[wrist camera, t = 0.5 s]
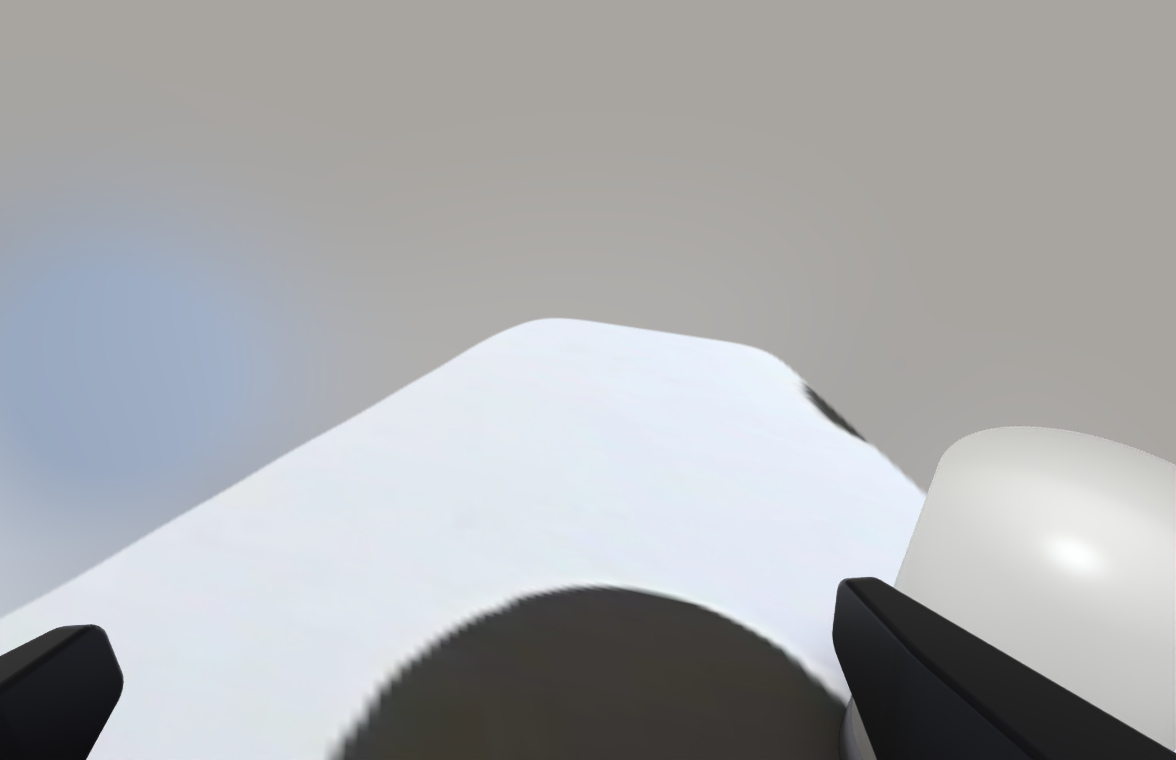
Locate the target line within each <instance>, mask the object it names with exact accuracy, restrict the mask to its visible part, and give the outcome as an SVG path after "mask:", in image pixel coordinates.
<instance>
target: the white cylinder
mask: <svg viewBox="0 0 1176 760" xmlns="http://www.w3.org/2000/svg"><path fill="white" fill-rule="evenodd" d="M893 588H895V589H897V590H898V591H900V592H902V593H903V594H905V595H907V596H909V597H910V598H912V599H914V600H915V601H917V602H919V603H921V604H922V605H924V606H926V607H927V608H929V609H931V610H933V611H934V612H936V613H938V614H939V615H941V616H943V617H944V618H946V619H948V620H950V621H951V622H953V623H955V624H956V625H958V626H960V627H962V628H963V629H965V630H967V631H968V632H970V633H972V634H973V635H975V636H977V637H979V638H980V639H982V640H984V641H985V642H987V643H989V644H991V645H992V646H994V647H996V648H997V649H999V650H1001V651H1003V652H1004V653H1006V654H1008V655H1009V656H1011V657H1013V658H1014V659H1016V660H1018V661H1020V662H1021V663H1023V664H1025V665H1026V666H1028V667H1030V668H1032V669H1033V670H1035V671H1037V672H1038V673H1040V674H1042V675H1043V676H1045V677H1047V678H1049V679H1050V680H1052V681H1054V682H1055V683H1057V684H1059V685H1061V686H1062V687H1064V688H1066V689H1067V690H1069V691H1071V692H1073V693H1074V694H1076V695H1078V696H1079V697H1081V698H1083V699H1084V700H1086V701H1088V702H1090V703H1091V704H1093V705H1095V706H1096V707H1098V708H1100V709H1102V710H1103V711H1105V712H1107V713H1108V714H1110V715H1112V716H1114V717H1115V718H1117V719H1119V720H1120V721H1122V722H1124V723H1125V724H1127V725H1129V726H1131V727H1132V728H1134V729H1136V730H1137V731H1139V732H1141V733H1143V734H1144V735H1146V736H1148V737H1149V738H1151V739H1153V740H1154V741H1156V742H1158V743H1160V744H1161V745H1163V746H1165V747H1166V748H1168V749H1170V750H1172V751H1174V750H1175V749H1176V465H1174V464H1172V463H1170V462H1168V461H1166V460H1163V459H1161V458H1158V457H1156V456H1153V455H1152V454H1149V453H1146V452H1144V451H1141V450H1138V449H1135V448H1133V447H1130V446H1127V445H1124V444H1120V443H1118V442H1114V441H1111V440H1108V439H1104V438H1100V437H1096V436H1092V435H1089V434H1084V433H1078V432H1074V431H1068V430H1062V429H1055V428H1047V427H1046V428H1045V427H1032V426H1012V427H999V428H993V429H988V430H983V431H980V432H976V433H973V434H970V435H968V436H966V437H964V438H962V439H960V440H959V441H957V442H956V443H954V444H953V445H951V447H950V448H949V449H948V450H947V451H946V452H945V453H944V455H943V456H942V458H941V460H940V461H939V464H938V467H937V470H936V472H935V475H934V478H933V481H932V483H931V486H930V489H929V491H928V494H927V497H926V500H925V502H924V505H923V508H922V510H921V513H920V516H919V519H918V521H917V524H916V527H915V529H914V532H913V535H912V538H911V540H910V543H909V546H908V548H907V551H906V554H905V557H904V559H903V562H902V565H901V567H900V570H899V573H898V576H897V578H896V581H895V584H894V586H893ZM839 754H840V760H877V759H876V757H875V754H874V752H873V749H872V746H871V744H870V741H869V738H868V736H867V733H866V731H865V728H864V725H863V723H862V720H861V717H860V715H859V712H858V710H857V707H856V704H855V702H854V699H853V697H852V696H851V698H850V701H849V704H848V707H847V709H846V712H845V715H844V718H843V721H842V724H841V728H840V734H839Z"/></svg>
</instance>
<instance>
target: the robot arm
mask: <svg viewBox="0 0 1176 760" xmlns="http://www.w3.org/2000/svg"><path fill="white" fill-rule="evenodd" d="M832 636H833V644H834V648H835V652H836V655H837V657H838V660H839V662H840V665H841V668H842V670H843V673H844V676H845V678H846V681H847V683H848V686H849V689H850V691H851V694H852V697H853V699H854V702H855V704H856V707H857V710H858V712H859V715H860V717H861V720H862V723H863V725H864V728H865V731H866V733H867V736H868V738H869V741H870V744H871V746H872V749H873V752H874V754H875V757H876V759H877V760H1176V753H1175V752H1173V751H1172V750H1170V749H1168V748H1166V747H1165V746H1163V745H1161V744H1160V743H1158V742H1156V741H1154V740H1153V739H1151V738H1149V737H1148V736H1146V735H1144V734H1143V733H1141V732H1139V731H1137V730H1136V729H1134V728H1132V727H1131V726H1129V725H1127V724H1125V723H1124V722H1122V721H1120V720H1119V719H1117V718H1115V717H1114V716H1112V715H1110V714H1108V713H1107V712H1105V711H1103V710H1102V709H1100V708H1098V707H1096V706H1095V705H1093V704H1091V703H1090V702H1088V701H1086V700H1084V699H1083V698H1081V697H1079V696H1078V695H1076V694H1074V693H1073V692H1071V691H1069V690H1067V689H1066V688H1064V687H1062V686H1061V685H1059V684H1057V683H1055V682H1054V681H1052V680H1050V679H1049V678H1047V677H1045V676H1043V675H1042V674H1040V673H1038V672H1037V671H1035V670H1033V669H1032V668H1030V667H1028V666H1026V665H1025V664H1023V663H1021V662H1020V661H1018V660H1016V659H1014V658H1013V657H1011V656H1009V655H1008V654H1006V653H1004V652H1003V651H1001V650H999V649H997V648H996V647H994V646H992V645H991V644H989V643H987V642H985V641H984V640H982V639H980V638H979V637H977V636H975V635H973V634H972V633H970V632H968V631H967V630H965V629H963V628H962V627H960V626H958V625H956V624H955V623H953V622H951V621H950V620H948V619H946V618H944V617H943V616H941V615H939V614H938V613H936V612H934V611H933V610H931V609H929V608H927V607H926V606H924V605H922V604H921V603H919V602H917V601H915V600H914V599H912V598H910V597H909V596H907V595H905V594H903V593H902V592H900V591H898V590H897V589H895V588H893V587H892V586H890V585H888V584H886V583H885V582H883V581H881V580H879V579H877V578H874V577H861V578H846V579H844V580H842V581H841V582H840V583H839V585H838V589H837V596H836V605H835V613H834V622H833V631H832ZM123 683H124V681H123V674H122V671H121V668H120V666H119V663H118V661H117V658H116V656H115V653H114V651H113V648H112V646H111V644H110V641H109V639H108V636H107V634H106V632H105V630H103V629H102V628H101V627H100V626H97V625H92V624H90V625H73V626H63V627H59V628H56V629H53V630H51V631H49V632H47V633H45V634H43V635H41V636H39V637H37V638H35V639H33V640H31V641H29V642H27V643H25V644H23V645H21V646H19V647H17V648H15V649H13V650H11V651H9V652H7V653H6V654H4V655H2V656H0V760H86V759H87V757H88V755H89V753H90V751H91V750H92V748H93V746H94V744H95V742H96V740H97V739H98V737H99V735H100V733H101V731H102V730H103V728H104V726H105V724H106V722H107V720H108V719H109V717H110V715H111V713H112V711H113V709H114V708H115V706H116V704H117V702H118V700H119V698H120V696H121V693H122V690H123Z"/></svg>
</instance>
